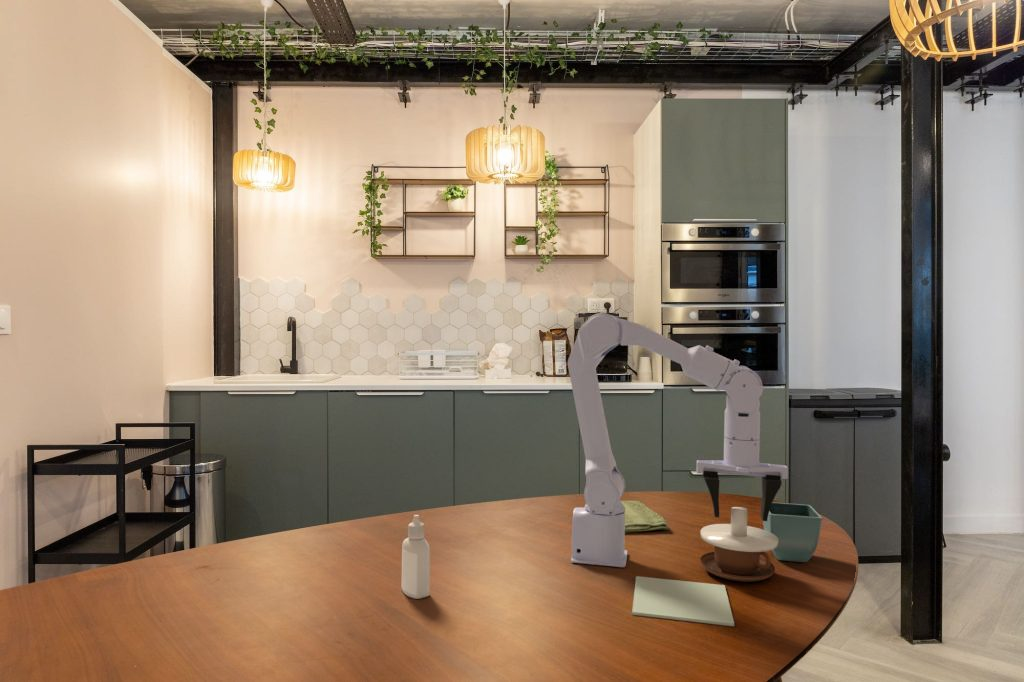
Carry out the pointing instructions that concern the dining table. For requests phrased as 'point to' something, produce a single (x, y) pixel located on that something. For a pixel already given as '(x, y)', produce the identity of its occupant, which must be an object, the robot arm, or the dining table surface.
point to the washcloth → (642, 518)
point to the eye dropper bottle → (416, 562)
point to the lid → (739, 534)
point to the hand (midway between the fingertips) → (740, 517)
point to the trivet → (682, 601)
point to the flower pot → (794, 530)
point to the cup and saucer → (738, 565)
